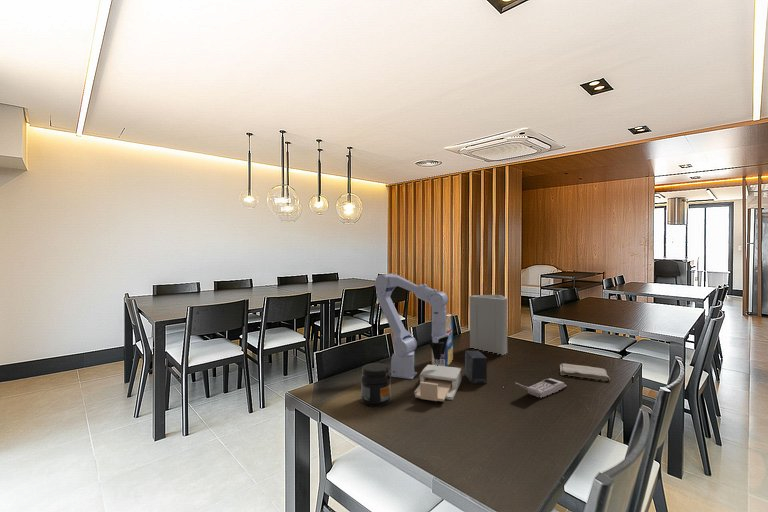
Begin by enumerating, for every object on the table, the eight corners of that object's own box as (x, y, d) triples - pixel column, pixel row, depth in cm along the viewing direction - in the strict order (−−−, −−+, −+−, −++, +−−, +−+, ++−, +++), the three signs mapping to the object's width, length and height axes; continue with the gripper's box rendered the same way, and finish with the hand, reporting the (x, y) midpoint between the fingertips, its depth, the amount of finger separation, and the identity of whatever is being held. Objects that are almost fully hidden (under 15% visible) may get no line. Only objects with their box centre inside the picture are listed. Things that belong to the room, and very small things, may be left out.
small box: (488, 383, 141) (488, 357, 141) (471, 384, 140) (471, 357, 140) (479, 374, 151) (479, 349, 151) (464, 375, 151) (464, 350, 151)
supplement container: (397, 400, 126) (396, 367, 125) (375, 410, 118) (375, 374, 118) (376, 392, 133) (376, 360, 133) (354, 401, 126) (354, 367, 125)
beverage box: (453, 360, 171) (452, 314, 170) (446, 367, 161) (445, 318, 161) (439, 358, 174) (439, 313, 174) (431, 365, 164) (431, 317, 164)
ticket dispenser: (414, 394, 131) (414, 380, 131) (427, 376, 150) (427, 364, 150) (452, 400, 126) (452, 385, 126) (461, 380, 145) (461, 368, 144)
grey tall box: (515, 349, 189) (515, 296, 188) (503, 355, 178) (503, 299, 178) (482, 343, 202) (482, 293, 201) (469, 348, 191) (469, 296, 191)
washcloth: (559, 368, 160) (559, 361, 160) (606, 373, 152) (606, 366, 152) (559, 377, 149) (559, 369, 149) (610, 383, 142) (610, 375, 142)
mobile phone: (514, 382, 127) (553, 368, 141) (513, 398, 127) (553, 383, 141) (529, 388, 122) (568, 373, 136) (529, 405, 122) (568, 388, 136)
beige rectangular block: (414, 397, 125) (414, 381, 125) (426, 381, 140) (426, 367, 140) (443, 402, 121) (443, 385, 121) (452, 384, 136) (452, 370, 136)
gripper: (445, 326, 134) (445, 362, 134) (452, 319, 148) (452, 352, 148) (427, 325, 137) (427, 360, 137) (435, 318, 150) (436, 350, 150)
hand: (439, 356), depth 143 cm, fingers open, 7 cm apart
